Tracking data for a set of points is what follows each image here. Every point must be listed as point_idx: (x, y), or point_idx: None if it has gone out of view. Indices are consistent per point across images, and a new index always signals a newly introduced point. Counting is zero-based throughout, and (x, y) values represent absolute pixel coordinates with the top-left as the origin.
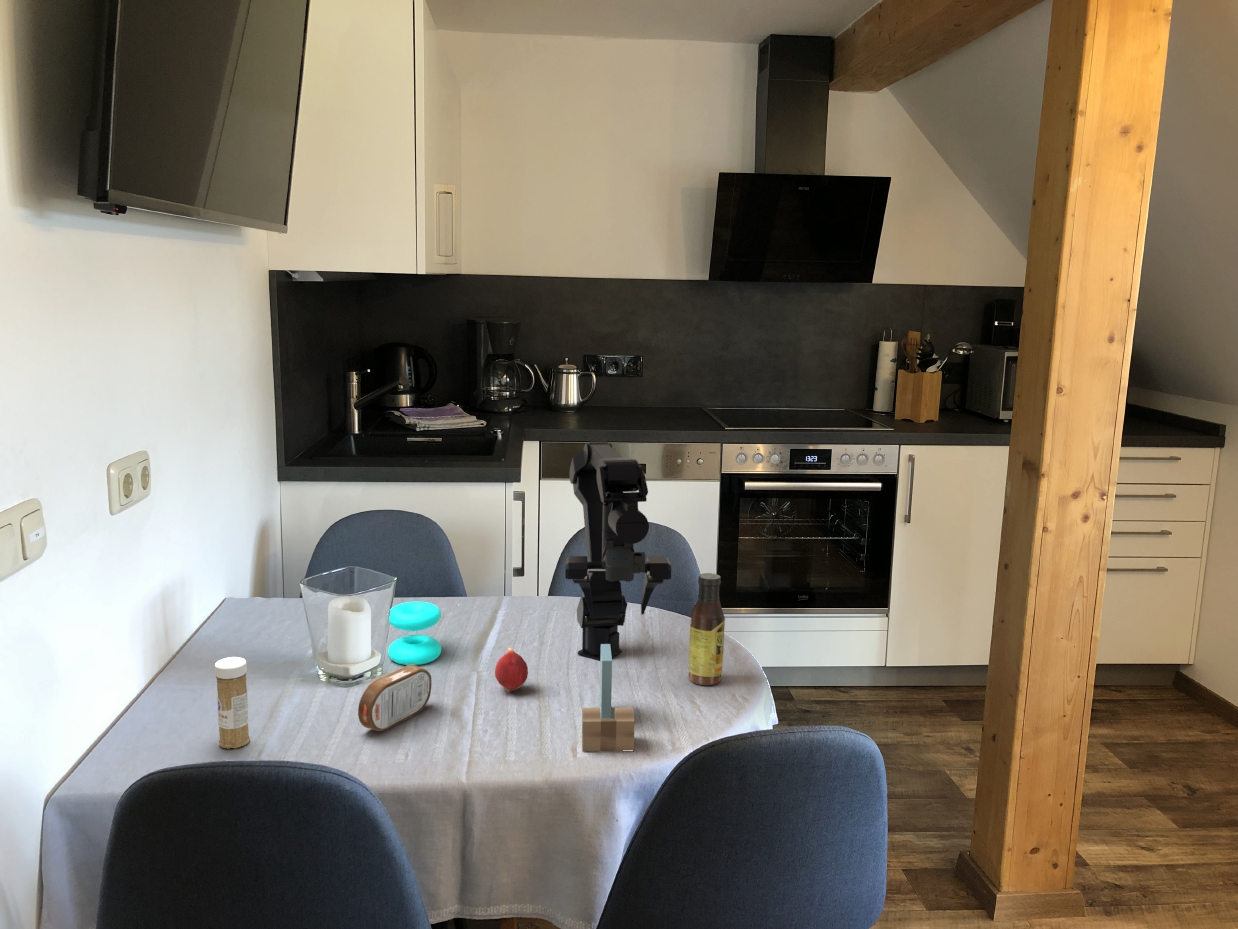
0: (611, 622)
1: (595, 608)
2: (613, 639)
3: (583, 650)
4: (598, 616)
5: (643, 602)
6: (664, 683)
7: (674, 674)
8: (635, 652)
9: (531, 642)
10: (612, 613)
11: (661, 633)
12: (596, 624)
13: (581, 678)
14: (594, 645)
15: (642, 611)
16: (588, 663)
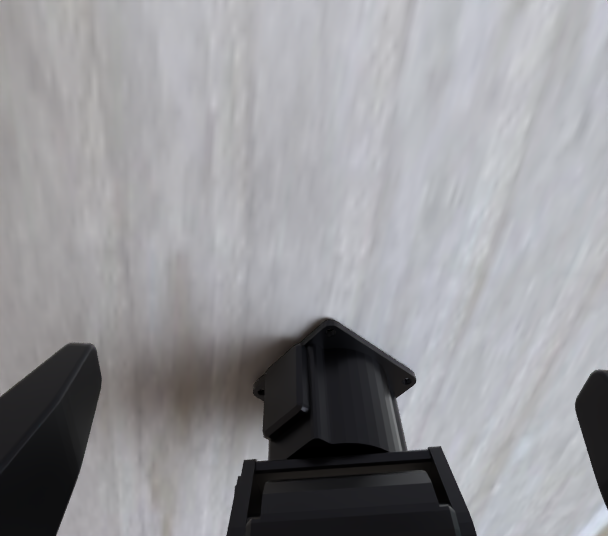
0: (299, 475)
1: (414, 527)
2: (292, 397)
3: (392, 390)
4: (384, 484)
5: (8, 447)
6: (79, 88)
7: (38, 186)
8: (202, 380)
9: (532, 455)
10: (307, 500)
11: (110, 489)
12: (372, 463)
13: (459, 178)
14: (368, 383)
15: (71, 361)
16: (392, 310)
